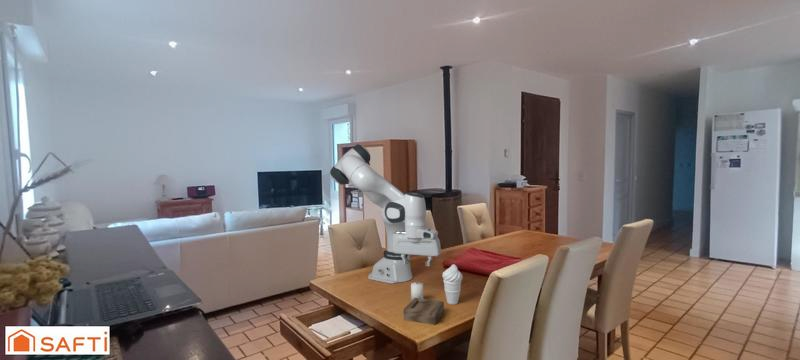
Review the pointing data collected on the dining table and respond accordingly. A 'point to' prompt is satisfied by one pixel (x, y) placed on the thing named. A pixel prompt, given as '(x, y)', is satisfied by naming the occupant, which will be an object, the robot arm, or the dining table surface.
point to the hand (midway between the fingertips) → (416, 265)
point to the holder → (424, 311)
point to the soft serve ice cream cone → (452, 284)
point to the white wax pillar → (416, 290)
